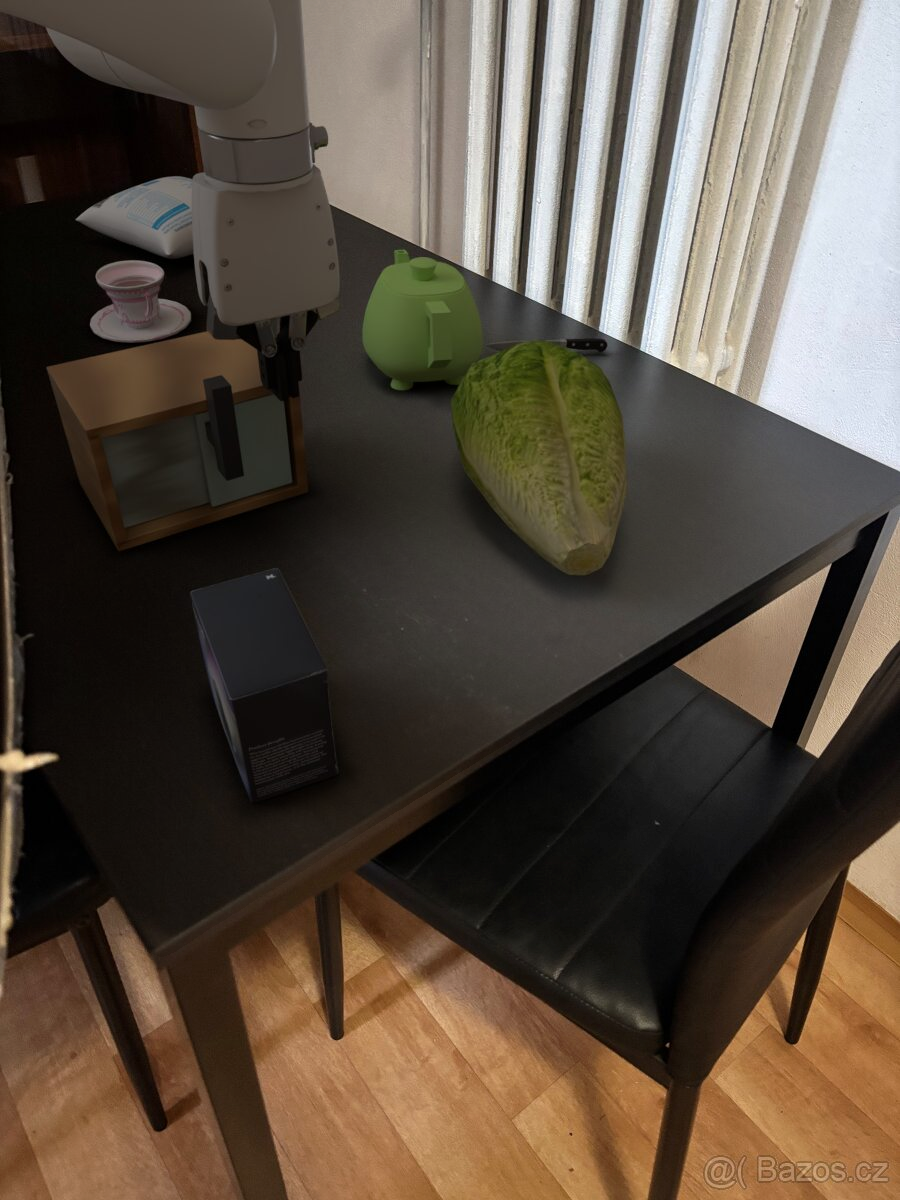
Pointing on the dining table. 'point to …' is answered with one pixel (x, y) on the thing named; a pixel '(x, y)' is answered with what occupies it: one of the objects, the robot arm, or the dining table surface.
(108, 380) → the cabinet
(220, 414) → the sliding door
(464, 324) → the teapot
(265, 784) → the small box
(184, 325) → the teacup
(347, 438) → the dining table surface
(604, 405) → the lettuce
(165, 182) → the pouch
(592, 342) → the knife
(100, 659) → the dining table surface
